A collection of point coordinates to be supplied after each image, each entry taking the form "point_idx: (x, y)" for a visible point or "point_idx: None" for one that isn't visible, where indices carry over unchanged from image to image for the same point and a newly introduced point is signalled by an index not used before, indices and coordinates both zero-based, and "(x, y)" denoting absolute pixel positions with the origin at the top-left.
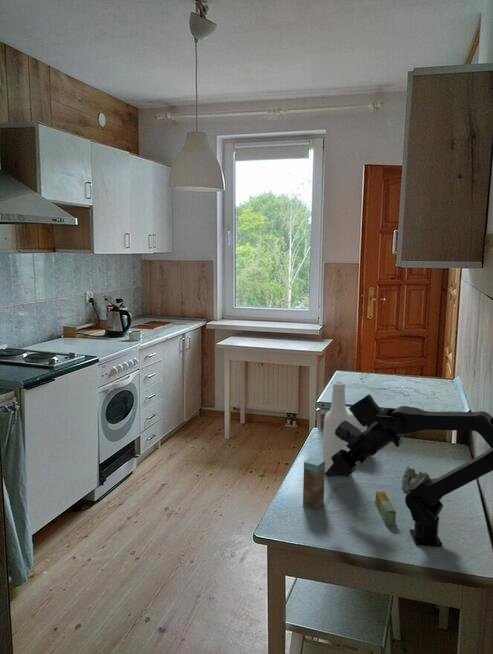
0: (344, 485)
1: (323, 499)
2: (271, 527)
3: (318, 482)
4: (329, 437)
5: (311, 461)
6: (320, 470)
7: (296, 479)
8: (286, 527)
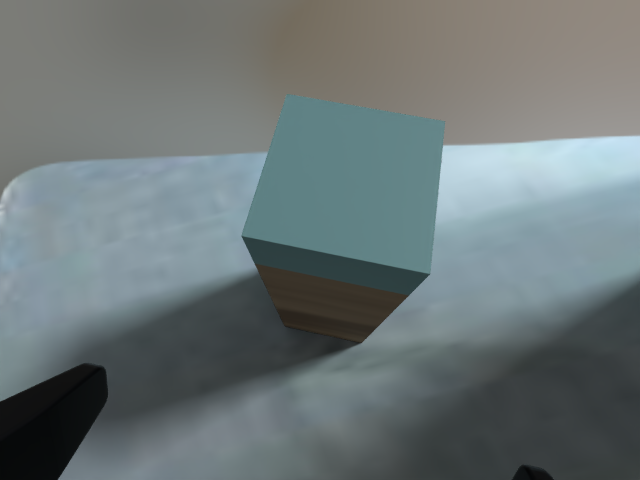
0: (616, 408)
1: (359, 339)
2: (80, 191)
3: (282, 294)
4: None
5: (326, 150)
6: (310, 275)
7: (521, 168)
8: (90, 243)
